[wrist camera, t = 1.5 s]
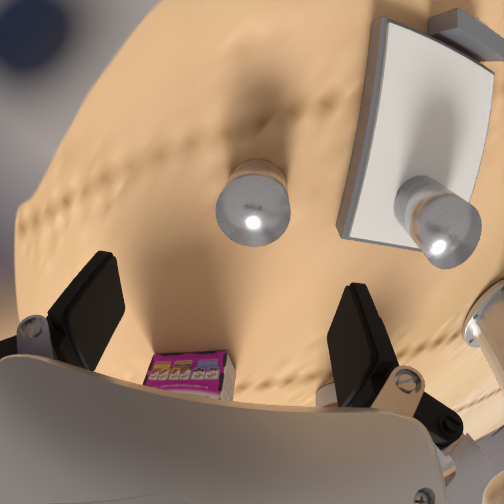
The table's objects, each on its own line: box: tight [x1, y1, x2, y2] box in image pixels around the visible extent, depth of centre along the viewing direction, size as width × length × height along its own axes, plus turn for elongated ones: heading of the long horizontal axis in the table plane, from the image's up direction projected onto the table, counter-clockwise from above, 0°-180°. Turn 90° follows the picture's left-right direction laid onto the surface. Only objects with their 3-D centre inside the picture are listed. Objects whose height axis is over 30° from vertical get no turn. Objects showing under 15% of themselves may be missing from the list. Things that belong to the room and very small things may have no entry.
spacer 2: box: [394, 175, 482, 269], centre depth 18 cm, size 5×5×6 cm
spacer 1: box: [216, 159, 290, 247], centre depth 22 cm, size 5×5×6 cm
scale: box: [336, 8, 504, 252], centre depth 18 cm, size 12×22×5 cm, turn 174°
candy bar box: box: [143, 350, 236, 401], centre depth 30 cm, size 11×5×16 cm, turn 104°
